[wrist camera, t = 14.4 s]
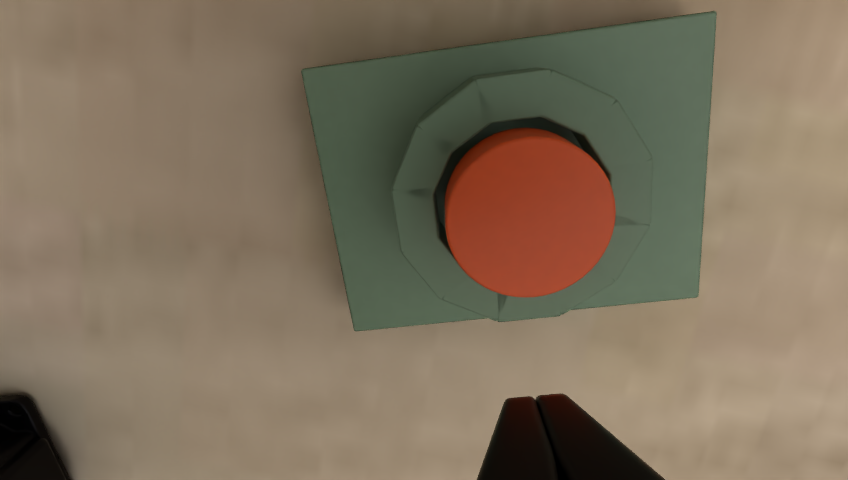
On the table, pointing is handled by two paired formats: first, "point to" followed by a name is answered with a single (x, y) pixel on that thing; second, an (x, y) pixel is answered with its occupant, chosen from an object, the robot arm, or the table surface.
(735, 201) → the table surface
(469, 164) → the switch button
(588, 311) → the table surface
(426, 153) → the switch box
